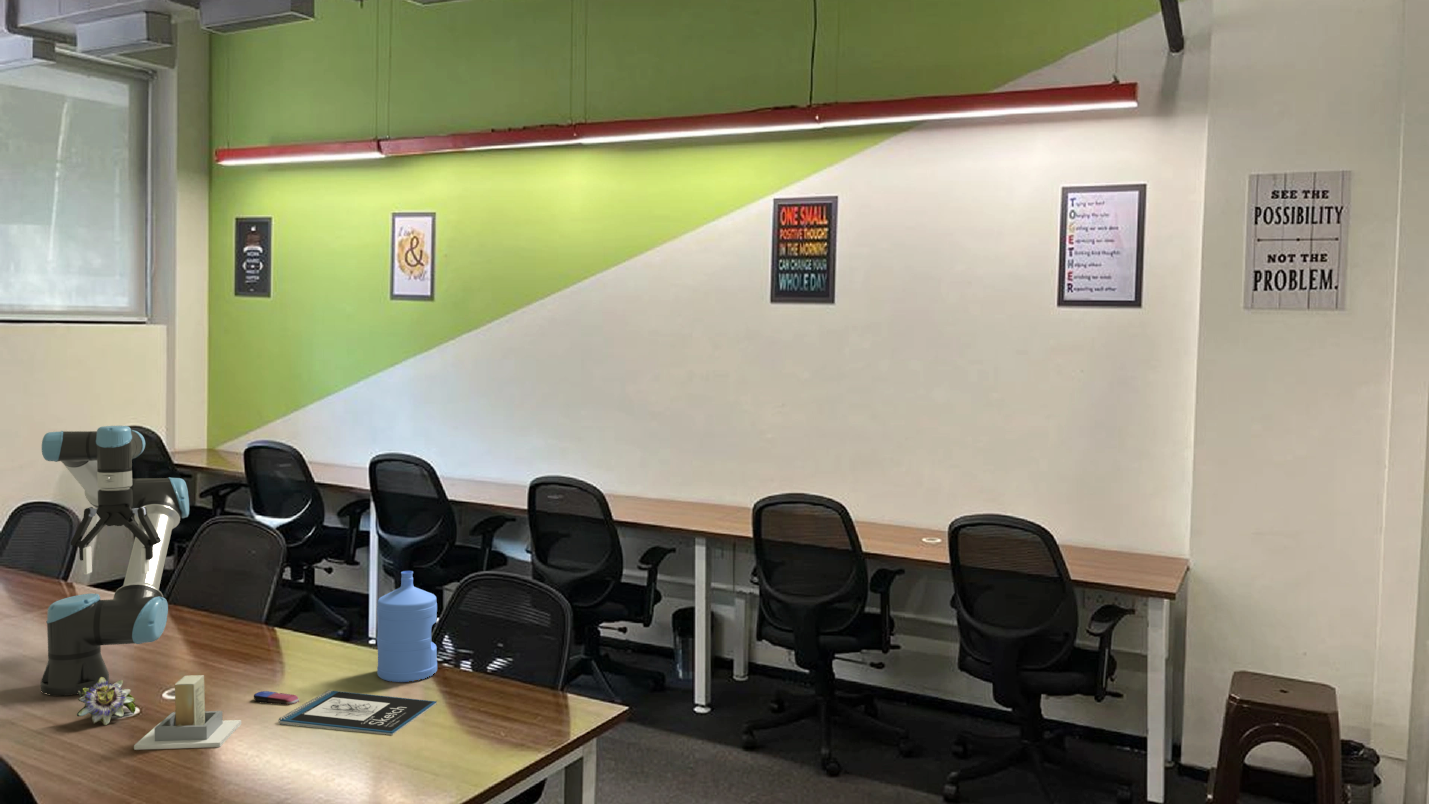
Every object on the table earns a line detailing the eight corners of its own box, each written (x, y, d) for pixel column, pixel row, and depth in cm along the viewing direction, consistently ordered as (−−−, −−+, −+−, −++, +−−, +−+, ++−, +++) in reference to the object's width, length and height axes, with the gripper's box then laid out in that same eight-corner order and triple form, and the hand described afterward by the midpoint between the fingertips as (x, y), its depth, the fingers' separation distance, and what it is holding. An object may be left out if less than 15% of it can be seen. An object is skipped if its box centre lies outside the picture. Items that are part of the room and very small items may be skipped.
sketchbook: (392, 738, 240) (392, 729, 240) (276, 726, 246) (276, 717, 246) (436, 706, 261) (436, 697, 261) (328, 696, 267) (328, 688, 267)
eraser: (301, 701, 263) (301, 694, 263) (291, 707, 259) (291, 700, 259) (261, 696, 265) (262, 689, 265) (251, 701, 261) (251, 694, 261)
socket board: (134, 749, 230) (133, 731, 230) (160, 726, 244) (160, 709, 244) (220, 747, 232) (219, 729, 232) (241, 724, 246) (241, 707, 246)
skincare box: (186, 727, 241) (185, 674, 240) (205, 726, 241) (205, 674, 241) (174, 737, 235) (173, 683, 234) (194, 737, 235) (193, 683, 234)
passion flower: (107, 746, 245) (75, 715, 238) (91, 726, 252) (60, 695, 246) (150, 711, 251) (121, 680, 244) (134, 692, 258) (105, 661, 251)
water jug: (401, 687, 273) (400, 581, 272) (365, 675, 283) (364, 572, 281) (449, 672, 286) (449, 571, 284) (413, 661, 295) (413, 563, 294)
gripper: (53, 490, 254) (55, 576, 256) (161, 490, 257) (163, 575, 258) (69, 486, 262) (71, 570, 263) (174, 486, 265) (175, 569, 266)
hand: (116, 573), depth 261 cm, fingers open, 13 cm apart
